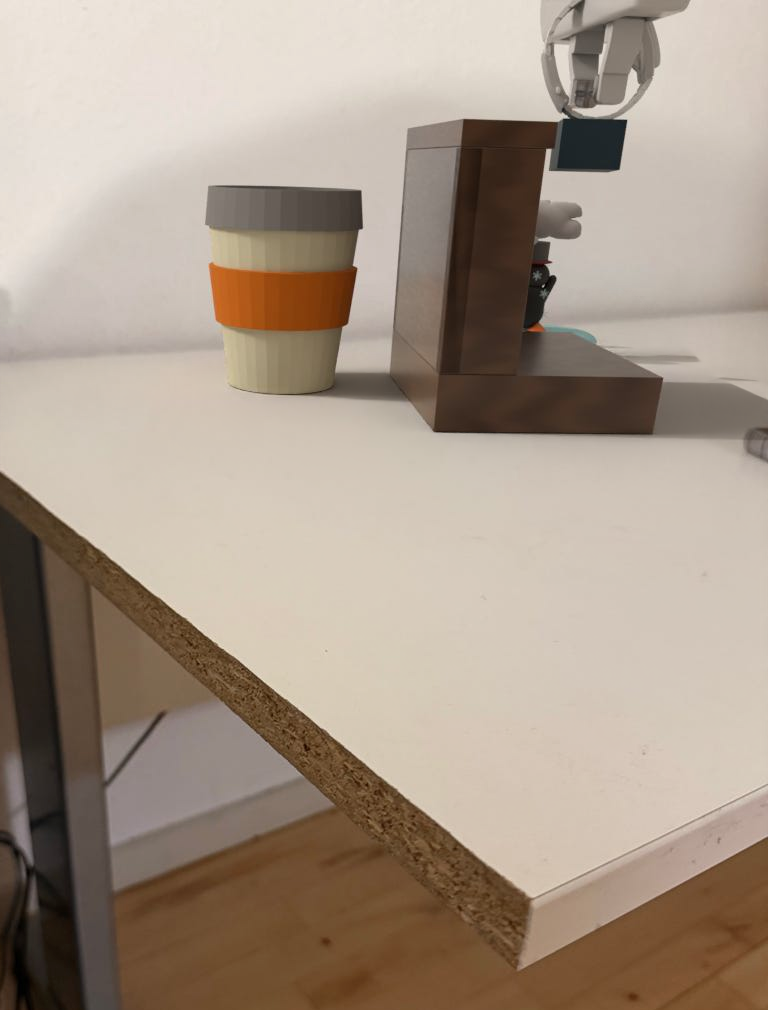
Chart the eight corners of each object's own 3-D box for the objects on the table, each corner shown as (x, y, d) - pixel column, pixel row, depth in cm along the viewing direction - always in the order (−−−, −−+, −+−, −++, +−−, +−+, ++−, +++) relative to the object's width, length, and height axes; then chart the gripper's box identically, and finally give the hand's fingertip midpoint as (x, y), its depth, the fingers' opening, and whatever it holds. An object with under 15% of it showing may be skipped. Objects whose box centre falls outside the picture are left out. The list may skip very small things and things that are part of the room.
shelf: (563, 377, 86) (601, 134, 77) (652, 434, 68) (714, 126, 60) (389, 375, 85) (407, 128, 76) (433, 431, 67) (463, 118, 59)
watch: (648, 170, 66) (680, -18, 62) (531, 167, 67) (553, -18, 63) (633, 173, 72) (661, -1, 67) (524, 170, 72) (545, -2, 68)
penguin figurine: (591, 348, 101) (617, 190, 94) (599, 367, 91) (629, 192, 84) (403, 337, 104) (415, 183, 97) (392, 353, 95) (404, 185, 88)
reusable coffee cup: (378, 394, 78) (392, 192, 71) (231, 402, 74) (231, 189, 67) (321, 365, 88) (328, 186, 81) (190, 371, 84) (186, 184, 77)
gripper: (757, -189, 52) (702, 99, 59) (620, -98, 71) (588, 114, 77) (646, -195, 52) (602, 96, 58) (537, -102, 70) (512, 111, 76)
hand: (593, 106), depth 68 cm, fingers closed on watch, 4 cm apart
